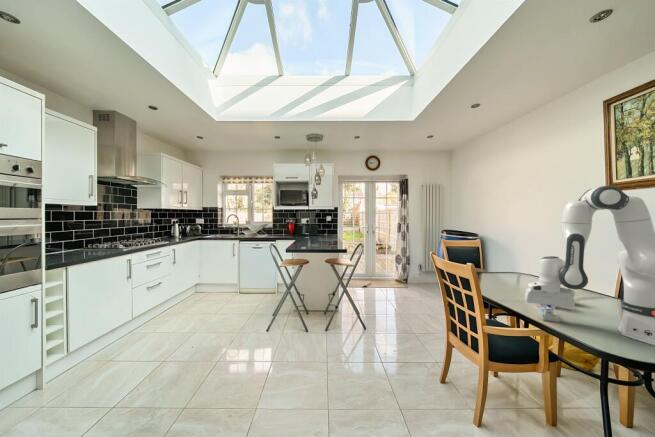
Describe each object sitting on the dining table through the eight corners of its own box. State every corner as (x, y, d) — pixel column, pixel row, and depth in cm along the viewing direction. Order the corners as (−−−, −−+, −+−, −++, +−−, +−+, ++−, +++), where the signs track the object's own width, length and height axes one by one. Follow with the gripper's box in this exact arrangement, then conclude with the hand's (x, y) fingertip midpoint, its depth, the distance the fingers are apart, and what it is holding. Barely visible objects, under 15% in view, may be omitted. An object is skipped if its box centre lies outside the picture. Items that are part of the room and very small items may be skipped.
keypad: (533, 309, 151) (533, 304, 151) (548, 311, 148) (548, 306, 148) (543, 320, 136) (543, 315, 136) (560, 322, 133) (560, 317, 133)
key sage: (543, 314, 140) (543, 311, 140) (552, 315, 139) (552, 312, 139) (546, 316, 137) (546, 313, 137) (555, 318, 135) (555, 314, 135)
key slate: (540, 309, 145) (540, 306, 145) (549, 310, 143) (549, 307, 143) (542, 312, 141) (542, 309, 141) (551, 313, 140) (551, 310, 140)
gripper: (571, 287, 136) (571, 313, 136) (524, 283, 144) (523, 307, 145) (577, 290, 130) (576, 318, 131) (527, 286, 138) (527, 312, 139)
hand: (548, 312), depth 138 cm, fingers closed
